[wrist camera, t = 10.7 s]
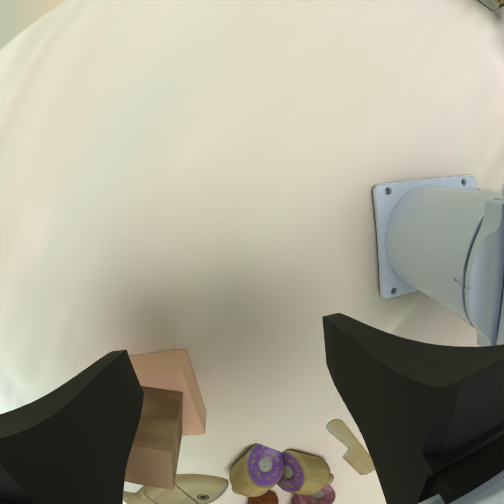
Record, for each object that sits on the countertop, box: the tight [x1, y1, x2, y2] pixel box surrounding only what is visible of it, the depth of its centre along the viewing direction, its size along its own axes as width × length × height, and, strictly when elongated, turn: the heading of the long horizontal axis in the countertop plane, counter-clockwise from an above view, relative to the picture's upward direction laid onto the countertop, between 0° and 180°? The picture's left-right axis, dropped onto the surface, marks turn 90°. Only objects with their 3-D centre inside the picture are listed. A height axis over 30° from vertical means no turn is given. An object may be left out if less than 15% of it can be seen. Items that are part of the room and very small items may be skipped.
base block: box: [129, 349, 206, 436], centre depth 21 cm, size 6×6×3 cm
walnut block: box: [125, 386, 183, 490], centre depth 17 cm, size 4×4×6 cm
